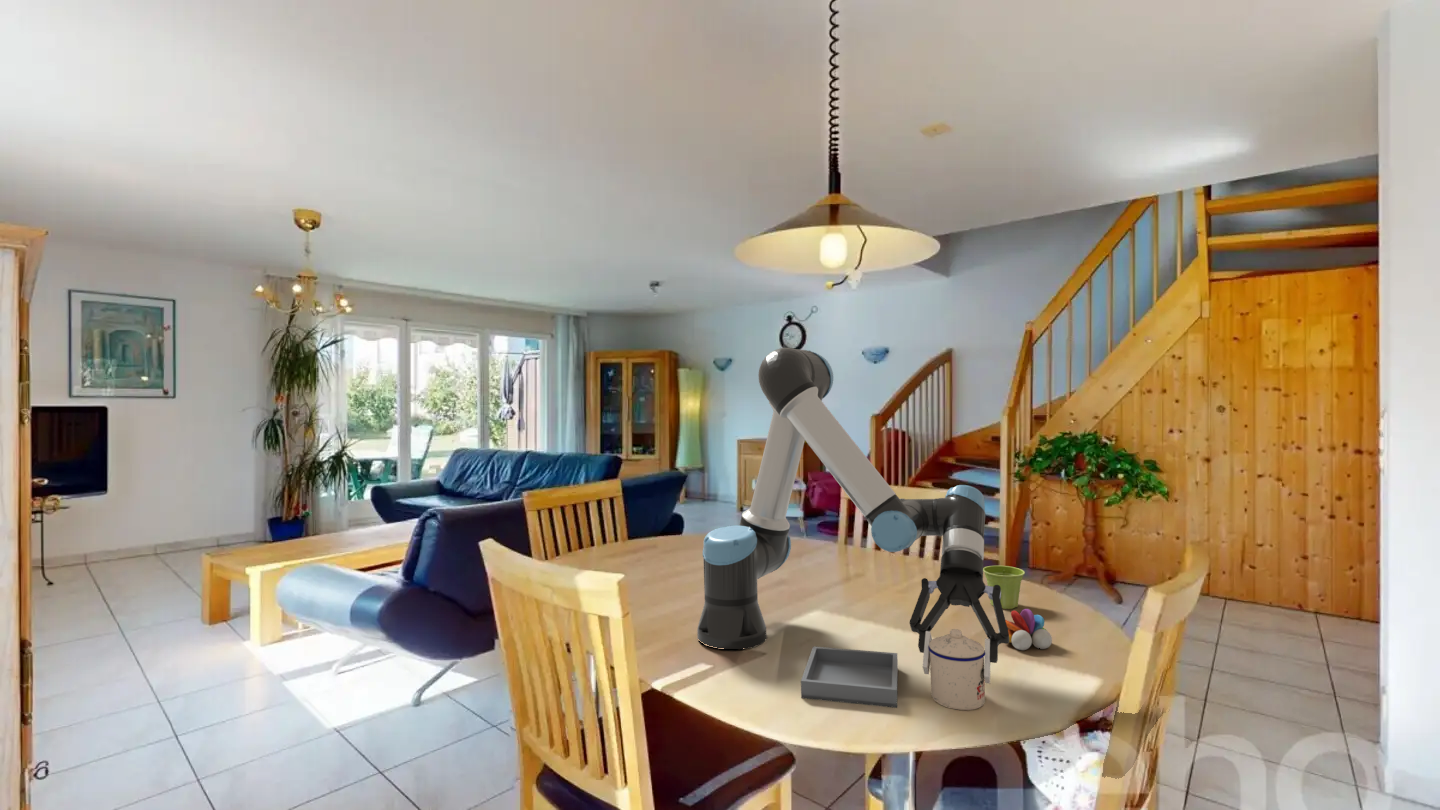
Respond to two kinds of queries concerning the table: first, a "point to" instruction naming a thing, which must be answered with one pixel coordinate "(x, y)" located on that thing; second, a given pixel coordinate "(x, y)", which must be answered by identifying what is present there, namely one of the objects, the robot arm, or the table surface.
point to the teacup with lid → (957, 671)
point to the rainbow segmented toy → (1028, 630)
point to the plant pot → (1005, 583)
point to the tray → (851, 676)
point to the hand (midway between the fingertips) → (955, 675)
